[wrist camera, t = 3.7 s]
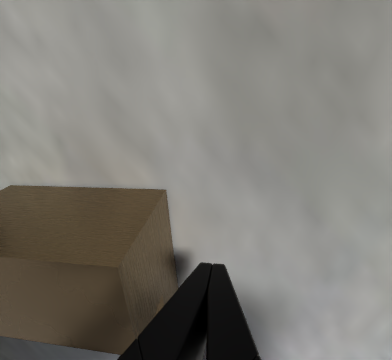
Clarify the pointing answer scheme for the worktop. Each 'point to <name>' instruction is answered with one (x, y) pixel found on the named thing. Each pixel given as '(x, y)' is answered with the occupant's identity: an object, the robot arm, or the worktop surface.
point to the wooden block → (83, 264)
